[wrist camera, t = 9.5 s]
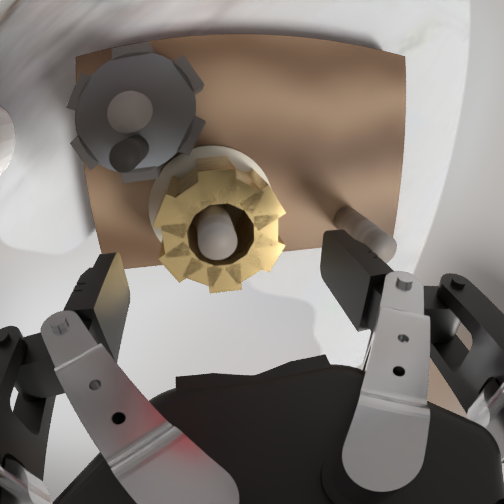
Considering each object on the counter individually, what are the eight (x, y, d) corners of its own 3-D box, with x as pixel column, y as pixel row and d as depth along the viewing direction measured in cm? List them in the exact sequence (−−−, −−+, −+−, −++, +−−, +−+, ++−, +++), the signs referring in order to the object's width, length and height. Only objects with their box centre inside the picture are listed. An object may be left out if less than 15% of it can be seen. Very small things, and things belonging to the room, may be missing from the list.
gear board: (86, 61, 14) (23, 38, 7) (389, 58, 17) (472, 52, 10) (113, 260, 20) (82, 338, 13) (379, 232, 24) (442, 285, 16)
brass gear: (156, 162, 16) (145, 177, 13) (266, 153, 17) (286, 165, 13) (169, 262, 19) (166, 297, 15) (267, 251, 20) (284, 284, 16)
